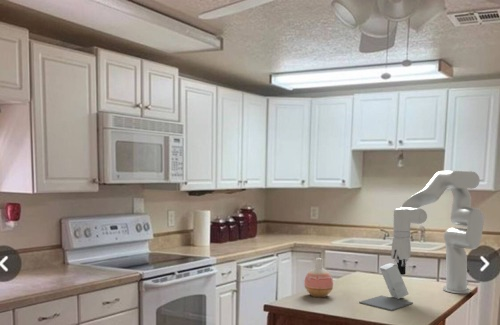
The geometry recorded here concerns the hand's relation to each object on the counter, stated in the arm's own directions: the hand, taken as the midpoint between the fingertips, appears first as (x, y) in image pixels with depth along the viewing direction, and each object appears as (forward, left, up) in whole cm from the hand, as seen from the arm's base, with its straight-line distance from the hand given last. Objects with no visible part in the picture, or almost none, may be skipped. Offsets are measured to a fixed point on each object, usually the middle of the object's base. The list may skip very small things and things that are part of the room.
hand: (401, 274), depth 219 cm
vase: (+26, -28, -12) cm, 40 cm away
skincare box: (0, 0, -10) cm, 10 cm away
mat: (+13, 0, -11) cm, 17 cm away
